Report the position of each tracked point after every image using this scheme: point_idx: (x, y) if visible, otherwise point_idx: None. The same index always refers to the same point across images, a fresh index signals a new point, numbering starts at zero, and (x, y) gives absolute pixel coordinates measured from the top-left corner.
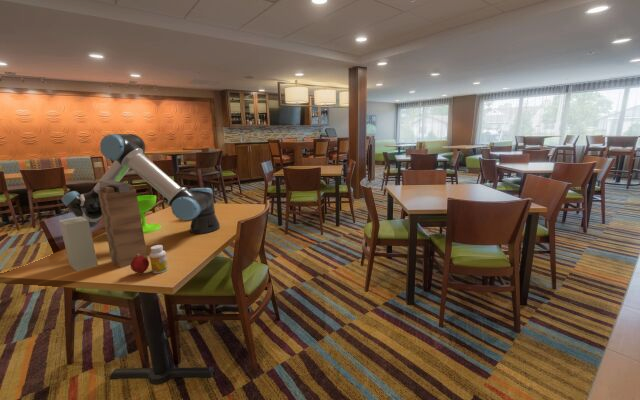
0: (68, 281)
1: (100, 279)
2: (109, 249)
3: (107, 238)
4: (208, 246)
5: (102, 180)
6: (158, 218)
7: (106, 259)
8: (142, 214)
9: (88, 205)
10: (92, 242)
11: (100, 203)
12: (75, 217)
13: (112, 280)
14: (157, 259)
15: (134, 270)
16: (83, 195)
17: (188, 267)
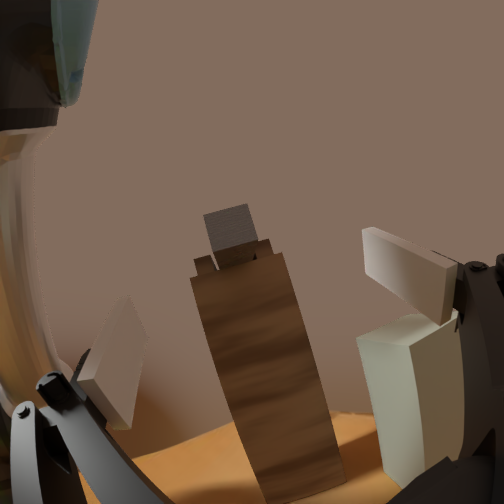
0: None
1: (360, 421)
2: (339, 452)
3: (330, 419)
4: (143, 466)
5: (232, 208)
6: None
7: (365, 498)
8: None
9: (478, 415)
10: (375, 412)
11: (295, 297)
12: (425, 335)
13: (339, 418)
14: None
15: None
16: (363, 239)
17: (228, 428)
